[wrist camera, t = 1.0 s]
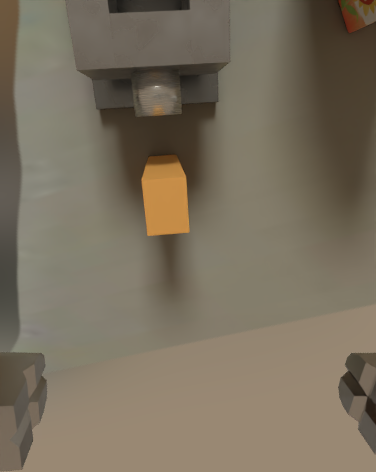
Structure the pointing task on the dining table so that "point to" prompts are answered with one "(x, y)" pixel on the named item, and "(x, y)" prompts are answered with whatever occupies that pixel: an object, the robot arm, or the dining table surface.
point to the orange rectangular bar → (165, 196)
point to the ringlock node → (151, 51)
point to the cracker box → (358, 13)
